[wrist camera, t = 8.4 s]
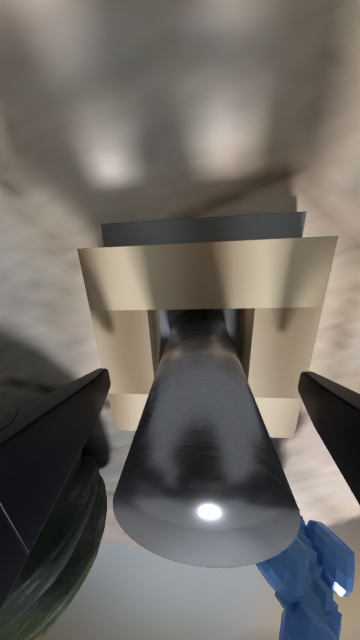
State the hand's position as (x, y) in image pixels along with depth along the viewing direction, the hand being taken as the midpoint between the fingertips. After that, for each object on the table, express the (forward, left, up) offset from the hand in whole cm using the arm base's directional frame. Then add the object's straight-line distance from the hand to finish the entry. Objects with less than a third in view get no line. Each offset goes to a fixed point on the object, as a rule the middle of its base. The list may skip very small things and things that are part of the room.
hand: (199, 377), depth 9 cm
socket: (0, 0, -6) cm, 6 cm away
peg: (0, 0, -5) cm, 5 cm away
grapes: (+7, -15, -6) cm, 18 cm away
